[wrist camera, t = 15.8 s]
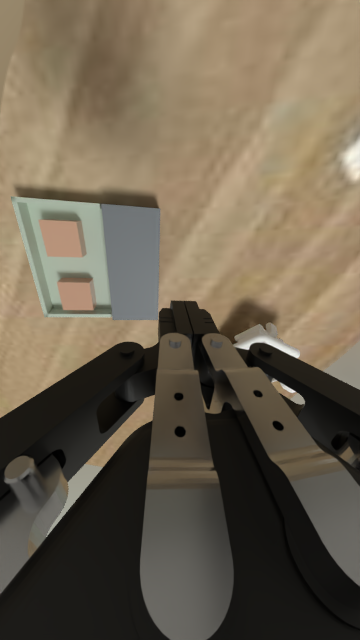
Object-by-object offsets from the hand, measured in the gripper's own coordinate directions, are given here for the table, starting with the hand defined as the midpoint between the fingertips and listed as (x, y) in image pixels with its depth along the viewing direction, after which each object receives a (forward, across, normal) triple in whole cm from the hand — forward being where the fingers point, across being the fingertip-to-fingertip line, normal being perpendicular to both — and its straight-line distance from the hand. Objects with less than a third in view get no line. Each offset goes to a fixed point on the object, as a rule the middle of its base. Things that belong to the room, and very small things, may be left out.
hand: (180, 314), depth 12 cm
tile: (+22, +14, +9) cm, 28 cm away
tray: (+26, +15, +4) cm, 30 cm away
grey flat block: (+26, +5, +4) cm, 26 cm away
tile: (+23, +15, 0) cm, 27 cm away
